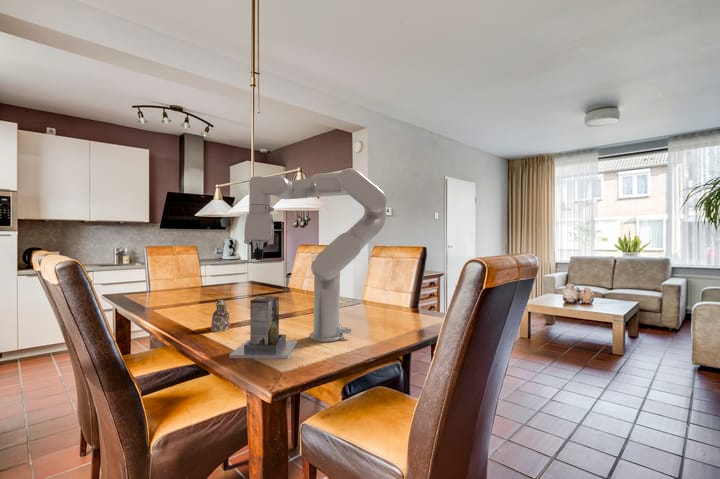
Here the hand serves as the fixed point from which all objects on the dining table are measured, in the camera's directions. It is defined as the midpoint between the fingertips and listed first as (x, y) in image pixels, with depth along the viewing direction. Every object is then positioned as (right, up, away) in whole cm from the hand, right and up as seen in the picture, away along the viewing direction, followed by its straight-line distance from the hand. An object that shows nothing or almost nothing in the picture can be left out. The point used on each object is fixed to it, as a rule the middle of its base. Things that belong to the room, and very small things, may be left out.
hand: (258, 259), depth 132 cm
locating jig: (+7, -29, -15) cm, 33 cm away
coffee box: (+6, -28, -15) cm, 33 cm away
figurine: (-19, -29, +11) cm, 36 cm away
